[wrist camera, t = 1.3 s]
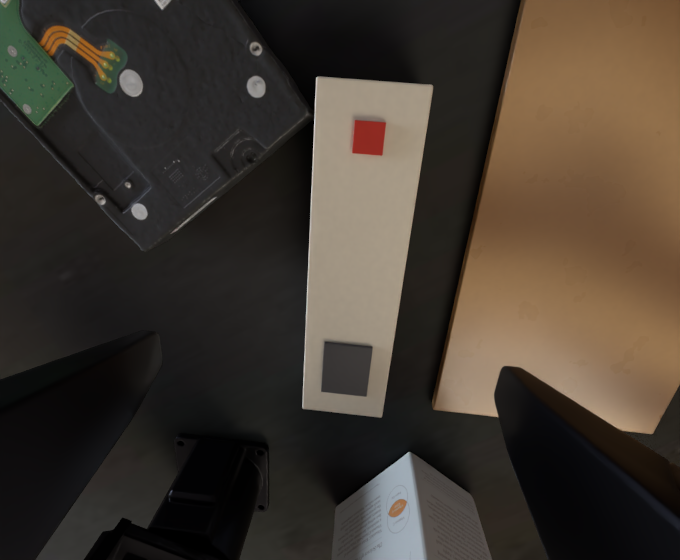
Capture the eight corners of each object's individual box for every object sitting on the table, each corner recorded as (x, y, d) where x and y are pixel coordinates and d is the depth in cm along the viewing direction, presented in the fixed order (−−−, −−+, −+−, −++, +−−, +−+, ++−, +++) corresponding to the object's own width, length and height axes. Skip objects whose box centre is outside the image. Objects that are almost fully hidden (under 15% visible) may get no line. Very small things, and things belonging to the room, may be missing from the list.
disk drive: (322, 113, 16) (60, -261, 12) (314, 109, 14) (-22, -367, 10) (174, 240, 19) (-77, -28, 15) (145, 257, 17) (-168, -61, 13)
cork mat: (645, 427, 21) (652, 434, 21) (431, 403, 22) (432, 410, 21) (888, -27, 13) (911, -34, 12) (530, -47, 13) (537, -55, 13)
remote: (380, 384, 22) (382, 421, 19) (309, 376, 22) (301, 412, 19) (423, 93, 15) (434, 83, 13) (324, 85, 16) (315, 74, 13)
